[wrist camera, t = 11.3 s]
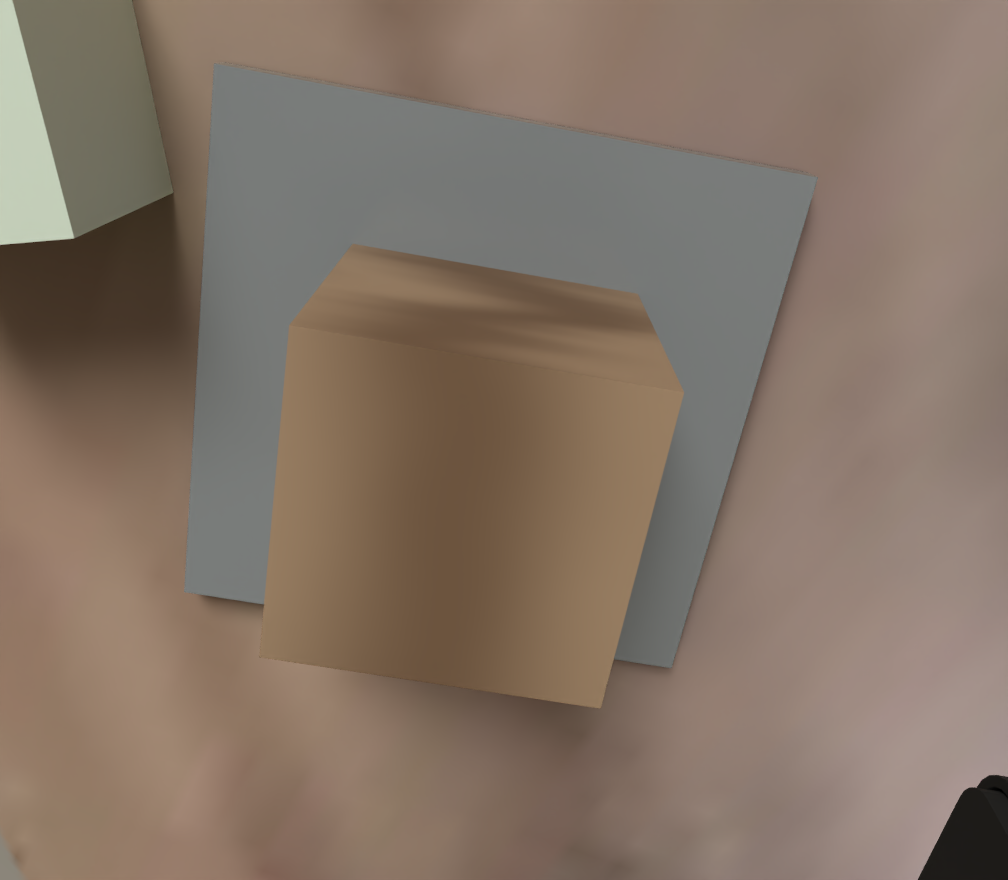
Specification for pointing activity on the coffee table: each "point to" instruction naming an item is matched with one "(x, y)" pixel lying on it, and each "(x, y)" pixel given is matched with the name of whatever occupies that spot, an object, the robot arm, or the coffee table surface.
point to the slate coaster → (483, 242)
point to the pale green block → (74, 119)
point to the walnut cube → (464, 476)
